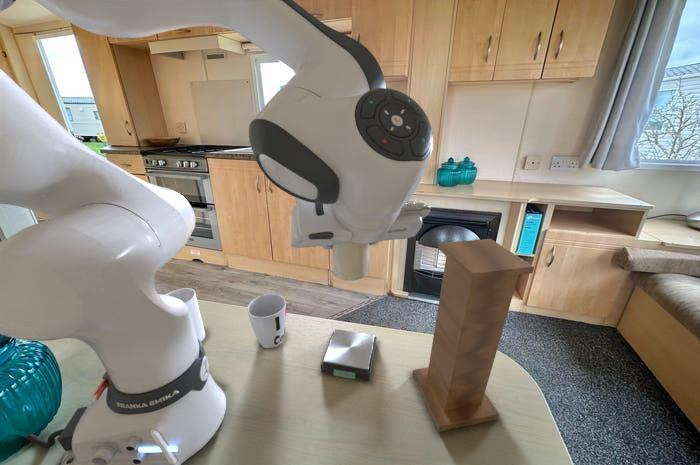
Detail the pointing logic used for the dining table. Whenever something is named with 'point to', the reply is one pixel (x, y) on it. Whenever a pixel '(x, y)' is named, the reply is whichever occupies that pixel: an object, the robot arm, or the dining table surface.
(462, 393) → the stand
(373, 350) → the scale
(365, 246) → the cream mug
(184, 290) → the mug
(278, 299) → the cup
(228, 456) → the dining table surface
